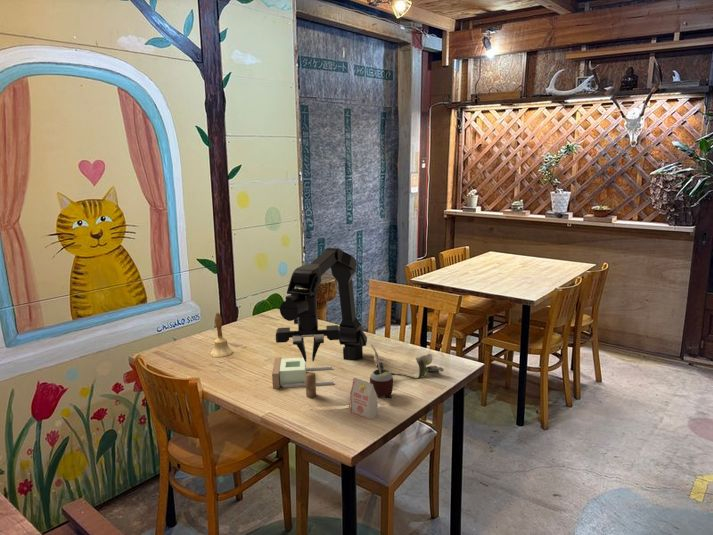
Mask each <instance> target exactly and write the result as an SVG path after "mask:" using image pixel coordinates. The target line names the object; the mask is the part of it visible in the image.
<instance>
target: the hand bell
mask: <svg viewBox="0 0 713 535" xmlns="http://www.w3.org/2000/svg"><path fill="white" fill-rule="evenodd" d="M220 314H221V313H220V312H216V313H215V315H214V324H215V328H216V330H217V338H216V339H215V340H214V344H213V345H214V346H213V349H212V350H211V351H210V356H211V357H212V356H213V358H225V357H228V356H231V355H232V354H233V353H234V351H233V349H232V348H231V347H230V346H229V344H228V340H227V338H226V337H224V336H223V331H222V327H223V319H222V316H221V315H220Z"/></svg>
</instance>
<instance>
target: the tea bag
mask: <svg viewBox="0 0 713 535" xmlns="http://www.w3.org/2000/svg"><path fill="white" fill-rule="evenodd" d="M349 394H350V396H349V397H350V398H349V399H350V400H349V401H350V413H351V414H353V415H356V416H359V417H361V418H363V419H366V420H369V421H370V420H372V419H373V418H374V417H377V416H378V395H377V394H376V392H375V389H374V386H373V384H371V383H370V382H368V381H365V380H361V379H358V378H355V377H354V378H353V380H352V385H351V389H350V393H349Z"/></svg>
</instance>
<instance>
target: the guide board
mask: <svg viewBox="0 0 713 535" xmlns="http://www.w3.org/2000/svg"><path fill="white" fill-rule="evenodd" d="M281 359H282V357H275V358H274V361H273V362H274V363H273V368H272V372H271V377H272V378H271V379H272V389H280V387H281V386H280V373H279V370H280V364H281ZM328 370H329V371H330V370H331V371H332V370H333V366H331V365H329V366H314V367H311V366H310V367H306V372H312V371H328ZM334 383H335V382H334V380H328V381H327V380H326V381H325V380H324V381H316V387H317V386H329V385H331V386H333V385H334ZM297 387H299V388H301V387H306V383H291V384H283V386H282V388H283V389H284V388H285V389H286V388H297Z"/></svg>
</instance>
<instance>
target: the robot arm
mask: <svg viewBox="0 0 713 535" xmlns="http://www.w3.org/2000/svg"><path fill="white" fill-rule="evenodd" d="M357 262H358V261H357V260H356V258H355V257H354V256H353V255H352V254H349V253H347V252H345V251H343V249H341V248H340V247H326V248H325V249H324V251H323V252H322V253H320V255H318V256H317V257H316V258H315V259H314V260H313V261H311V263H309V264H306V265H301V266H298V267H297V268H295V269H294V270H293V272H292V274H291V276H290V280H289V283H288V287H287V290H286V294H287V295H286V296H285V301H283V302H281V304H280V307H279V313H280V315H281V317H282V318H283V319H284V320H286V321H288V322H291V321H292V322H293V324H294V325H297V326H298V327H297V330H291V328H290V327H277V329H276V331H275V343H277V344H279V343H280V344H281V343H288V341H290V339H291V338H292V345H295V346H297V348H298V350H299V351H300V353H301V356H302V358H304V360H305V362H306V363H307V352H306V346H305V341H304V340H305V339H304V338H311V337H313V341H312V342H313V343H312V344H313V345H312V355H311V360H312V362H315V360H316V355H317V352H318V351H319V348H320V346H321V344H324V343H325V337H326V339H328V340H329V341H338V342H339V345H344V346H343V347H342V356H343V357H342V358H343V360H345V361H350V362H351V361H360V360H363V359H364V356H363V355H364V354H363V353H364V352H363V347H366V346H367V342H368V336H367V335H366V334H365V332H364V330H363V325H362V323H361V322H360V320H359V319H358V318H357V316H356V307H355V306H356V305H355V296H354V286H353V285H354V284H353V278H354V276H355V274H356V272H357ZM329 269H330V272H331V275H332V277H333V278H334V279H335V280H336V282H337V286H338V287H337V288H338V295H339V304H340V313H341V322H340V323H339V325H338V324H337V325H326V327H325V328H326V329H319V322H318V320H319V319H318V304H317V302H318V301H317V299H318V298H317V294H318V293H319V292H320V290H319V289H318V287H319V285H320V284H321V283H322V277H323V275H324V274H326V272H327V271H328V270H329Z"/></svg>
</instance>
